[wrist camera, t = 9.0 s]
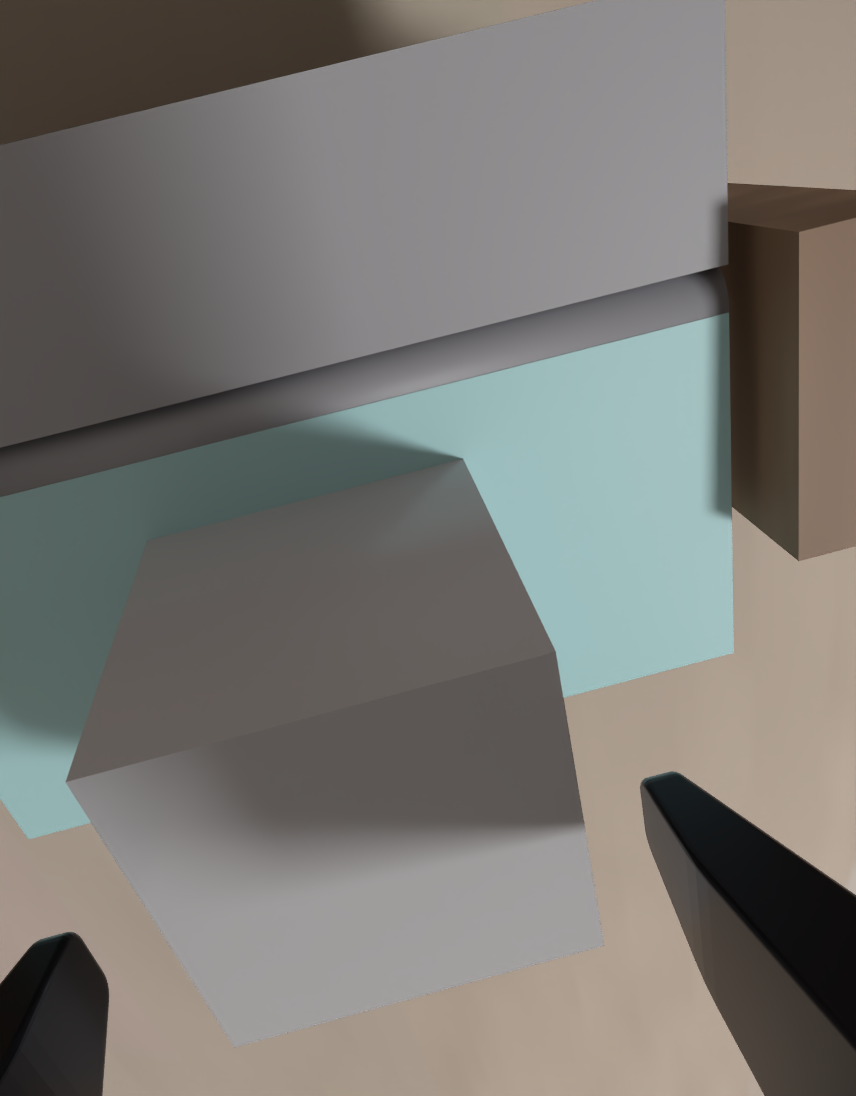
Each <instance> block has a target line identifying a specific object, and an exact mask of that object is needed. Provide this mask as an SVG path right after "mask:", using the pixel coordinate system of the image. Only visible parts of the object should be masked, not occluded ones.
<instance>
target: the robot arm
mask: <svg viewBox="0 0 856 1096" xmlns="http://www.w3.org/2000/svg"><path fill="white" fill-rule="evenodd" d="M640 791H641V799H642V808H643V816H644V824H645V831H646V836H647V840H648V843H649V846H650V849H651V852H652V855H653V857H654V859H655V862H656V864H657V867H658V869H659V872H660V874H661V877H662V879H663V882H664V884H665V887H666V889H667V892H668V894H669V897H670V899H671V901H672V904H673V906H674V909H675V911H676V914H677V916H678V919H679V921H680V924H681V926H682V929H683V931H684V934H685V936H686V939H687V941H688V944H689V946H690V948H691V951H692V953H693V956H694V958H695V961H696V963H697V965H698V968H699V970H700V972H701V975H702V977H703V979H704V982H705V984H706V986H707V988H708V990H709V992H710V994H711V996H712V998H713V1000H714V1002H715V1004H716V1006H717V1008H718V1010H719V1011H720V1013H721V1015H722V1017H723V1019H724V1021H725V1023H726V1024H727V1026H728V1028H729V1030H730V1032H731V1034H732V1036H733V1038H734V1039H735V1041H736V1043H737V1045H738V1047H739V1049H740V1051H741V1053H742V1054H743V1056H744V1058H745V1060H746V1062H747V1064H748V1066H749V1067H750V1069H751V1071H752V1073H753V1075H754V1077H755V1079H756V1081H757V1082H758V1084H759V1086H760V1088H761V1090H762V1092H763V1094H764V1095H765V1096H856V895H855V894H853V893H852V892H850V891H849V890H848V889H846V888H845V887H843V886H842V885H840V884H839V883H837V882H836V881H835V880H833V879H832V878H830V877H829V876H827V875H826V874H824V873H823V872H822V871H820V870H819V869H817V868H816V867H814V866H813V865H811V864H810V863H809V862H807V861H806V860H804V859H803V858H801V857H800V856H798V855H797V854H796V853H794V852H793V851H791V850H790V849H788V848H787V847H785V846H784V845H783V844H781V843H780V842H778V841H777V840H775V839H774V838H772V837H771V836H770V835H768V834H767V833H765V832H764V831H762V830H761V829H759V828H758V827H757V826H755V825H754V824H752V823H751V822H749V821H748V820H746V819H745V818H744V817H742V816H741V815H739V814H738V813H736V812H735V811H734V810H732V809H731V808H729V807H728V806H726V805H725V804H723V803H722V802H721V801H719V800H718V799H716V798H715V797H713V796H712V795H710V794H709V793H708V792H706V791H705V790H703V789H702V788H700V787H699V786H697V785H696V784H695V783H693V782H692V781H690V780H689V779H687V778H686V777H684V776H683V775H681V774H680V773H677V772H673V771H672V772H667V773H663V774H659V775H656V776H652V777H648V778H645V779H644V780H643V781H642V782H641V786H640ZM108 1007H109V988H108V983H107V980H106V977H105V975H104V973H103V971H102V970H101V968H100V966H99V965H98V963H97V962H96V960H95V959H94V957H93V956H92V954H91V952H90V951H89V949H88V948H87V946H86V945H85V943H84V942H83V940H82V939H81V937H80V936H79V935H78V934H76V933H74V932H66V933H63V934H59V935H55V936H51V937H48V938H44V939H41V940H39V941H37V942H35V943H34V944H33V945H32V946H31V947H30V948H29V949H28V950H27V951H26V953H25V954H24V955H23V956H22V958H21V959H20V960H19V961H18V963H17V964H16V965H15V966H14V967H13V969H12V970H11V971H10V972H9V974H8V975H7V976H6V977H5V979H4V980H3V981H2V982H1V983H0V1096H102V1093H103V1078H104V1064H105V1050H106V1035H107V1021H108Z"/></svg>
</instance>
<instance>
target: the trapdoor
mask: <svg viewBox="0 0 856 1096" xmlns="http://www.w3.org/2000/svg"><path fill="white" fill-rule="evenodd" d="M724 265H728V194H727V120H726V45H725V0H596V1H592V2H588V3H584V4H579V5H575V6H571V7H567V8H563V9H559V10H555V11H551V12H547V13H542V14H538V15H534V16H530V17H526V18H522V19H518V20H514V21H509V22H505V23H501V24H497V25H493V26H489V27H485V28H481V29H476V30H472V31H468V32H464V33H460V34H456V35H452V36H448V37H443V38H439V39H435V40H431V41H427V42H423V43H419V44H415V45H411V46H406V47H402V48H398V49H394V50H390V51H386V52H382V53H378V54H373V55H369V56H365V57H361V58H357V59H353V60H349V61H345V62H340V63H336V64H332V65H328V66H324V67H320V68H316V69H312V70H307V71H303V72H299V73H295V74H291V75H287V76H283V77H279V78H275V79H270V80H266V81H262V82H258V83H254V84H250V85H246V86H242V87H237V88H233V89H229V90H225V91H221V92H217V93H213V94H209V95H204V96H200V97H196V98H192V99H188V100H184V101H180V102H176V103H171V104H167V105H163V106H159V107H155V108H151V109H147V110H143V111H138V112H134V113H130V114H126V115H122V116H118V117H114V118H110V119H106V120H101V121H97V122H93V123H89V124H85V125H81V126H77V127H73V128H68V129H64V130H60V131H56V132H52V133H48V134H44V135H40V136H35V137H31V138H27V139H23V140H19V141H15V142H11V143H7V144H2V145H0V799H1V801H2V802H3V804H4V805H5V806H6V808H7V809H8V811H9V812H10V814H11V815H12V816H13V818H14V819H15V821H16V822H17V824H18V825H19V826H20V828H21V829H22V831H23V832H24V834H25V835H26V836H27V838H28V839H31V838H35V837H39V836H43V835H46V834H50V833H54V832H58V831H62V830H65V829H69V828H73V827H77V826H80V825H84V824H88V823H91V822H90V820H89V819H88V817H87V815H86V814H85V812H84V811H83V809H82V808H81V806H80V804H79V803H78V801H77V800H76V798H75V797H74V795H73V793H72V792H71V790H70V789H69V787H68V786H67V784H66V779H67V776H68V773H69V770H70V767H71V764H72V761H73V758H74V755H75V752H76V749H77V746H78V743H79V740H80V738H81V735H82V732H83V729H84V726H85V723H86V720H87V717H88V714H89V711H90V708H91V705H92V702H93V699H94V696H95V693H96V690H97V687H98V684H99V681H100V678H101V675H102V672H103V669H104V667H105V664H106V661H107V658H108V655H109V652H110V649H111V646H112V643H113V640H114V637H115V634H116V631H117V628H118V625H119V622H120V619H121V616H122V613H123V610H124V607H125V604H126V601H127V598H128V596H129V593H130V590H131V587H132V584H133V581H134V578H135V575H136V572H137V569H138V566H139V563H140V560H141V557H142V554H143V551H144V548H145V545H146V542H147V541H148V540H152V539H156V538H160V537H164V536H168V535H171V534H175V533H179V532H183V531H187V530H191V529H194V528H198V527H202V526H206V525H210V524H214V523H217V522H221V521H225V520H229V519H233V518H237V517H241V516H244V515H248V514H252V513H256V512H260V511H264V510H267V509H271V508H275V507H279V506H283V505H287V504H291V503H294V502H298V501H302V500H306V499H310V498H314V497H317V496H321V495H325V494H329V493H333V492H337V491H341V490H344V489H348V488H352V487H356V486H360V485H364V484H367V483H371V482H375V481H379V480H383V479H387V478H391V477H394V476H398V475H402V474H406V473H410V472H414V471H417V470H421V469H425V468H429V467H433V466H437V465H440V464H444V463H448V462H452V461H456V460H460V459H464V461H465V463H466V466H467V468H468V470H469V472H470V474H471V476H472V478H473V480H474V482H475V484H476V486H477V488H478V491H479V493H480V495H481V497H482V499H483V501H484V503H485V505H486V507H487V509H488V511H489V513H490V516H491V518H492V520H493V522H494V524H495V526H496V528H497V530H498V532H499V534H500V536H501V538H502V541H503V543H504V545H505V547H506V549H507V551H508V553H509V555H510V557H511V559H512V561H513V563H514V566H515V568H516V570H517V572H518V574H519V576H520V578H521V580H522V582H523V584H524V586H525V588H526V591H527V593H528V595H529V597H530V599H531V601H532V603H533V605H534V607H535V609H536V611H537V613H538V616H539V618H540V620H541V622H542V624H543V626H544V628H545V630H546V632H547V634H548V636H549V638H550V641H551V643H552V645H553V647H554V649H555V651H556V656H557V662H558V668H559V674H560V680H561V686H562V692H563V698H564V697H568V696H572V695H576V694H580V693H583V692H587V691H591V690H595V689H598V688H602V687H606V686H610V685H614V684H617V683H621V682H625V681H629V680H633V679H636V678H640V677H644V676H648V675H651V674H655V673H659V672H663V671H667V670H670V669H674V668H678V667H682V666H685V665H689V664H693V663H697V662H701V661H704V660H708V659H712V658H716V657H719V656H723V655H727V654H731V653H734V643H733V568H732V493H731V419H730V344H729V298H728V291H727V286H726V282H725V279H724V276H723V274H722V271H721V269H720V268H719V267H720V266H724Z"/></svg>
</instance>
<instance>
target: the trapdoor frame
mask: <svg viewBox="0 0 856 1096" xmlns="http://www.w3.org/2000/svg"><path fill="white" fill-rule="evenodd" d="M727 194H728V265H724V266H720V267H719V268H720V269H721V271H722V274H723V276H724V279H725V282H726V286H727V291H728V298H729V344H730V419H731V493H732V507H733V508H734V509H736V510H737V511H738V512H739V513H741V514H742V515H743V516H744V517H745V518H747V519H748V520H749V521H750V522H752V523H753V524H754V525H755V526H756V527H758V528H759V529H760V530H761V531H763V532H764V533H765V534H766V535H767V536H769V537H770V538H771V539H772V540H774V541H775V542H776V543H777V544H778V545H780V546H781V547H782V548H783V549H785V550H786V551H787V552H788V553H789V554H791V555H792V556H793V557H794V558H796V559H797V560H798V561H801V560H805V559H808V558H812V557H816V556H820V555H824V554H827V553H831V552H835V551H839V550H843V549H846V548H850V547H854V546H856V190H841V189H823V188H805V187H787V186H769V185H751V184H733V183H727Z"/></svg>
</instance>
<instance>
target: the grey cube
mask: <svg viewBox="0 0 856 1096" xmlns="http://www.w3.org/2000/svg"><path fill="white" fill-rule="evenodd" d="M66 784H67V786H68V787H69V789H70V790H71V792H72V793H73V795H74V797H75V798H76V800H77V801H78V803H79V804H80V806H81V808H82V809H83V811H84V812H85V814H86V815H87V817H88V819H89V820H90V822H91V823H92V825H93V826H94V828H95V830H96V831H97V833H98V834H99V836H100V837H101V839H102V841H103V842H104V844H105V845H106V847H107V848H108V850H109V852H110V853H111V855H112V856H113V858H114V859H115V861H116V863H117V864H118V866H119V867H120V869H121V870H122V872H123V874H124V875H125V877H126V878H127V880H128V881H129V883H130V885H131V886H132V888H133V889H134V891H135V892H136V894H137V896H138V897H139V899H140V900H141V902H142V903H143V905H144V907H145V908H146V910H147V911H148V913H149V914H150V916H151V918H152V919H153V921H154V922H155V924H156V925H157V927H158V929H159V930H160V932H161V933H162V935H163V936H164V938H165V940H166V941H167V943H168V944H169V946H170V947H171V949H172V951H173V952H174V954H175V955H176V957H177V958H178V960H179V962H180V963H181V965H182V966H183V968H184V969H185V971H186V973H187V974H188V976H189V977H190V979H191V980H192V982H193V984H194V985H195V987H196V988H197V990H198V991H199V993H200V995H201V996H202V998H203V999H204V1001H205V1002H206V1004H207V1006H208V1007H209V1009H210V1010H211V1012H212V1013H213V1015H214V1017H215V1018H216V1020H217V1021H218V1023H219V1024H220V1026H221V1028H222V1029H223V1031H224V1032H225V1034H226V1035H227V1037H228V1039H229V1040H230V1042H231V1043H232V1045H233V1046H234V1047H238V1046H242V1045H245V1044H249V1043H252V1042H256V1041H260V1040H263V1039H267V1038H271V1037H274V1036H278V1035H282V1034H285V1033H289V1032H292V1031H296V1030H300V1029H303V1028H307V1027H311V1026H314V1025H318V1024H321V1023H325V1022H329V1021H332V1020H336V1019H340V1018H343V1017H347V1016H351V1015H354V1014H358V1013H361V1012H365V1011H369V1010H372V1009H376V1008H380V1007H383V1006H387V1005H390V1004H394V1003H398V1002H401V1001H405V1000H409V999H412V998H416V997H420V996H423V995H427V994H430V993H434V992H438V991H441V990H445V989H449V988H452V987H456V986H460V985H463V984H467V983H470V982H474V981H478V980H481V979H485V978H489V977H492V976H496V975H499V974H503V973H507V972H510V971H514V970H518V969H521V968H525V967H529V966H532V965H536V964H539V963H543V962H547V961H550V960H554V959H558V958H561V957H565V956H568V955H572V954H576V953H579V952H583V951H587V950H590V949H594V948H598V947H601V946H604V941H603V935H602V929H601V923H600V917H599V911H598V905H597V899H596V892H595V886H594V880H593V874H592V868H591V862H590V856H589V850H588V844H587V838H586V832H585V826H584V820H583V814H582V808H581V801H580V795H579V789H578V783H577V777H576V771H575V765H574V759H573V753H572V747H571V741H570V735H569V729H568V723H567V717H566V710H565V704H564V698H563V692H562V686H561V680H560V674H559V668H558V662H557V656H556V651H555V649H554V647H553V645H552V643H551V641H550V638H549V636H548V634H547V632H546V630H545V628H544V626H543V624H542V622H541V620H540V618H539V616H538V613H537V611H536V609H535V607H534V605H533V603H532V601H531V599H530V597H529V595H528V593H527V591H526V588H525V586H524V584H523V582H522V580H521V578H520V576H519V574H518V572H517V570H516V568H515V566H514V563H513V561H512V559H511V557H510V555H509V553H508V551H507V549H506V547H505V545H504V543H503V541H502V538H501V536H500V534H499V532H498V530H497V528H496V526H495V524H494V522H493V520H492V518H491V516H490V513H489V511H488V509H487V507H486V505H485V503H484V501H483V499H482V497H481V495H480V493H479V491H478V488H477V486H476V484H475V482H474V480H473V478H472V476H471V474H470V472H469V470H468V468H467V466H466V463H465V461H464V459H460V460H456V461H452V462H448V463H444V464H440V465H437V466H433V467H429V468H425V469H421V470H417V471H414V472H410V473H406V474H402V475H398V476H394V477H391V478H387V479H383V480H379V481H375V482H371V483H367V484H364V485H360V486H356V487H352V488H348V489H344V490H341V491H337V492H333V493H329V494H325V495H321V496H317V497H314V498H310V499H306V500H302V501H298V502H294V503H291V504H287V505H283V506H279V507H275V508H271V509H267V510H264V511H260V512H256V513H252V514H248V515H244V516H241V517H237V518H233V519H229V520H225V521H221V522H217V523H214V524H210V525H206V526H202V527H198V528H194V529H191V530H187V531H183V532H179V533H175V534H171V535H168V536H164V537H160V538H156V539H152V540H148V541H147V542H146V545H145V548H144V551H143V554H142V557H141V560H140V563H139V566H138V569H137V572H136V575H135V578H134V581H133V584H132V587H131V590H130V593H129V596H128V598H127V601H126V604H125V607H124V610H123V613H122V616H121V619H120V622H119V625H118V628H117V631H116V634H115V637H114V640H113V643H112V646H111V649H110V652H109V655H108V658H107V661H106V664H105V667H104V669H103V672H102V675H101V678H100V681H99V684H98V687H97V690H96V693H95V696H94V699H93V702H92V705H91V708H90V711H89V714H88V717H87V720H86V723H85V726H84V729H83V732H82V735H81V738H80V740H79V743H78V746H77V749H76V752H75V755H74V758H73V761H72V764H71V767H70V770H69V773H68V776H67V779H66Z"/></svg>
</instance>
